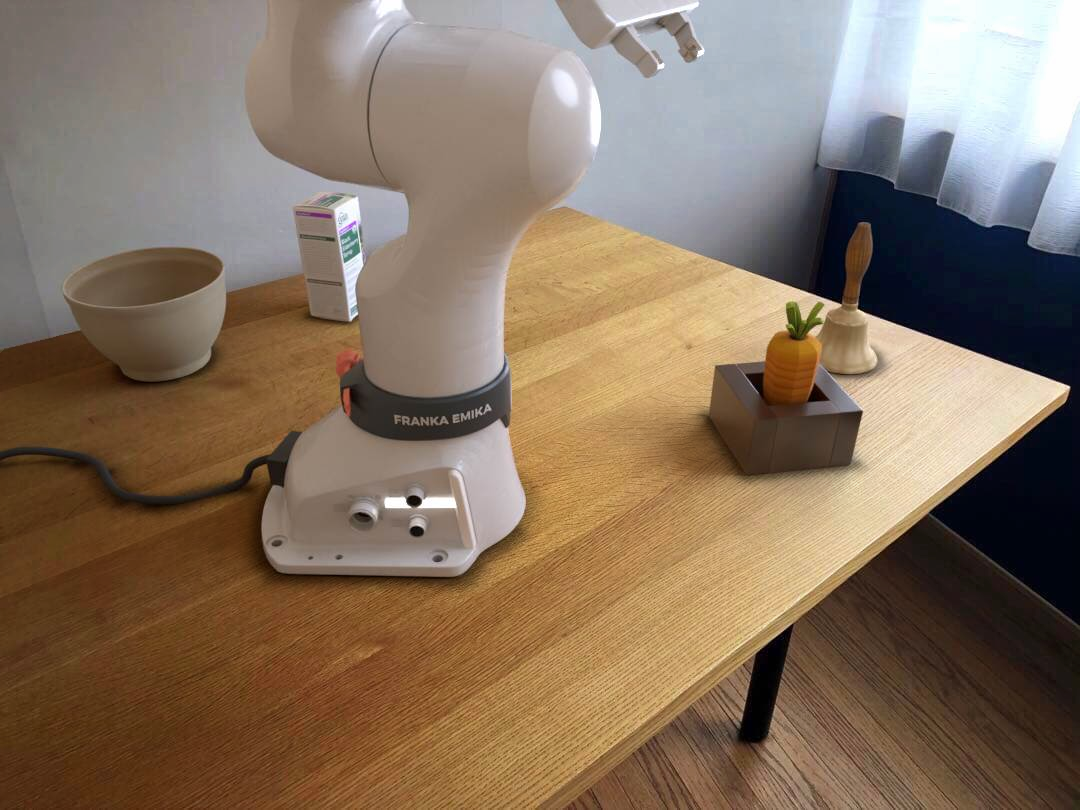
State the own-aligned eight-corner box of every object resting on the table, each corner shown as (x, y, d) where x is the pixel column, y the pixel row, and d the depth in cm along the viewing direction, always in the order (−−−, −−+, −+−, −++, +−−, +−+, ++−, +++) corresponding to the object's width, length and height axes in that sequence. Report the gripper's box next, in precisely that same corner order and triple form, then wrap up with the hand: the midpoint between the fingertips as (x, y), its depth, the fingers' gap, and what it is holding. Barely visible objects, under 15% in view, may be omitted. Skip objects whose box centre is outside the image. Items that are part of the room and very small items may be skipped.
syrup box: (350, 323, 106) (336, 209, 99) (308, 316, 108) (291, 203, 100) (372, 304, 111) (360, 194, 103) (331, 298, 112) (316, 189, 105)
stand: (745, 475, 79) (754, 420, 76) (708, 416, 88) (714, 364, 85) (850, 464, 81) (863, 410, 78) (803, 407, 90) (813, 356, 87)
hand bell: (822, 378, 95) (850, 240, 87) (790, 343, 102) (812, 213, 94) (891, 371, 96) (925, 235, 88) (854, 337, 103) (882, 209, 95)
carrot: (800, 427, 86) (826, 289, 79) (808, 455, 82) (836, 312, 74) (750, 424, 87) (771, 287, 79) (755, 451, 83) (778, 310, 75)
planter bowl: (56, 389, 92) (25, 296, 87) (148, 324, 106) (126, 240, 100) (189, 408, 89) (166, 313, 83) (267, 339, 102) (251, 253, 97)
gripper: (558, -73, 74) (652, 59, 75) (661, -81, 89) (739, 29, 90) (516, -19, 79) (605, 105, 79) (621, -34, 93) (695, 70, 94)
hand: (677, 65), depth 85 cm, fingers open, 8 cm apart
